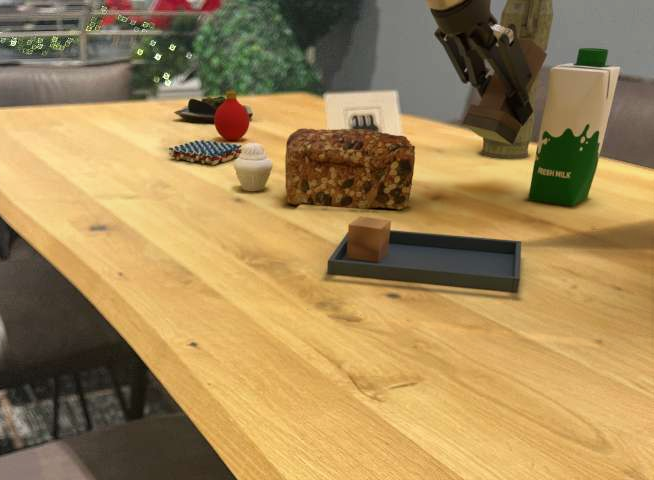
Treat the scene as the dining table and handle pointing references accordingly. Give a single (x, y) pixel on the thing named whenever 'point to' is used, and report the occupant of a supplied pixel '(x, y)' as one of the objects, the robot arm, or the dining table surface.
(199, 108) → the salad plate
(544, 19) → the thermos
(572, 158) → the milk carton
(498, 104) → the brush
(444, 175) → the dining table surface
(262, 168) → the muffin
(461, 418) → the dining table surface
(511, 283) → the tray
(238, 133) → the christmas ornament
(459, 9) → the robot arm
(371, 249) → the wooden block
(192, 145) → the woven mat
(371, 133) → the bread
